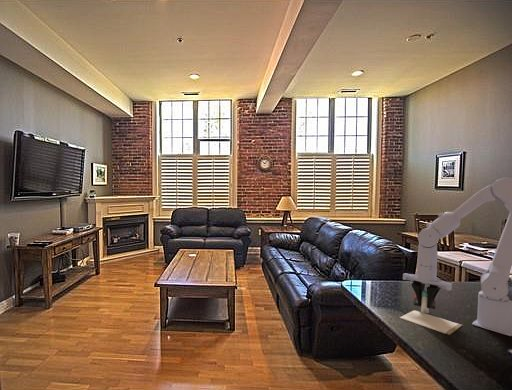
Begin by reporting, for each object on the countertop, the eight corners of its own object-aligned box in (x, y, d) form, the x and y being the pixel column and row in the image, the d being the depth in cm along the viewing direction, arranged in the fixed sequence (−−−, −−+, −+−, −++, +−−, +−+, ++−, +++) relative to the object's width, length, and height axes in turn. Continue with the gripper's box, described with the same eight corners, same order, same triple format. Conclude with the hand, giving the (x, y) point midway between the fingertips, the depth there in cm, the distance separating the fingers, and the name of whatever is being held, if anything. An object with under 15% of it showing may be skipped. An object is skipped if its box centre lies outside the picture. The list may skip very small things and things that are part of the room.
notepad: (462, 325, 96) (462, 324, 96) (449, 335, 90) (449, 333, 90) (414, 311, 107) (414, 310, 107) (399, 318, 100) (399, 317, 100)
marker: (430, 312, 106) (431, 291, 106) (427, 314, 104) (428, 292, 104) (422, 310, 108) (423, 289, 108) (419, 311, 106) (420, 290, 106)
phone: (434, 294, 123) (435, 306, 110) (434, 297, 123) (435, 310, 110) (415, 291, 126) (413, 302, 113) (414, 294, 126) (413, 306, 113)
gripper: (456, 268, 103) (454, 310, 103) (410, 259, 114) (408, 297, 114) (447, 271, 98) (445, 315, 99) (400, 261, 109) (398, 301, 110)
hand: (425, 306), depth 106 cm, fingers closed on marker, 2 cm apart
